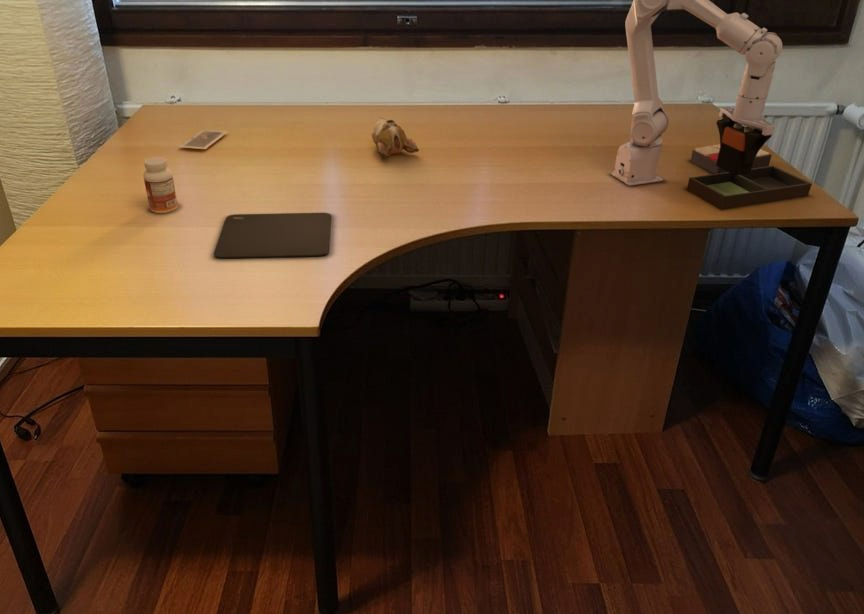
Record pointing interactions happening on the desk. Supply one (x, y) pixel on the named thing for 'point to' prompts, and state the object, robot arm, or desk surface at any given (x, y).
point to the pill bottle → (159, 185)
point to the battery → (733, 150)
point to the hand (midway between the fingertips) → (736, 157)
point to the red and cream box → (709, 155)
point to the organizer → (748, 187)
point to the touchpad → (203, 139)
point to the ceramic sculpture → (391, 138)
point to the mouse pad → (274, 235)
